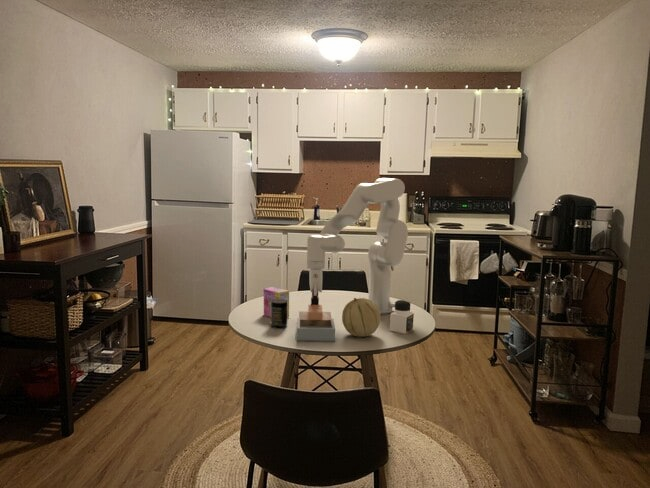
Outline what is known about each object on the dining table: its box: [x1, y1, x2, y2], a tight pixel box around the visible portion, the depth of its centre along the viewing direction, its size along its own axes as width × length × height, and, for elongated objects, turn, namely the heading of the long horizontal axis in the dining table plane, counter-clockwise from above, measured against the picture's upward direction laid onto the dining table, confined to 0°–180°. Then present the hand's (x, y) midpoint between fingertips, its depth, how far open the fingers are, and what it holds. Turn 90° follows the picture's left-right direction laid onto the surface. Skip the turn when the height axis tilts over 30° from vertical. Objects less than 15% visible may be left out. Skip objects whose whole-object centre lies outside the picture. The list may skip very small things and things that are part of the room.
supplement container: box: [270, 299, 288, 329], centre depth 198 cm, size 7×7×10 cm
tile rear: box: [307, 304, 323, 311], centre depth 203 cm, size 6×6×3 cm
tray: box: [296, 317, 336, 343], centre depth 188 cm, size 14×14×5 cm
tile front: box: [307, 308, 324, 320], centre depth 197 cm, size 6×6×3 cm
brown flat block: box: [298, 310, 333, 327], centre depth 201 cm, size 13×12×4 cm
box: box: [263, 286, 290, 319], centre depth 212 cm, size 10×6×12 cm, turn 47°
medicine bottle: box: [389, 299, 415, 335], centre depth 197 cm, size 7×7×12 cm
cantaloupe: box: [341, 297, 382, 338], centre depth 189 cm, size 15×15×15 cm
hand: (314, 306), depth 210 cm, fingers closed
